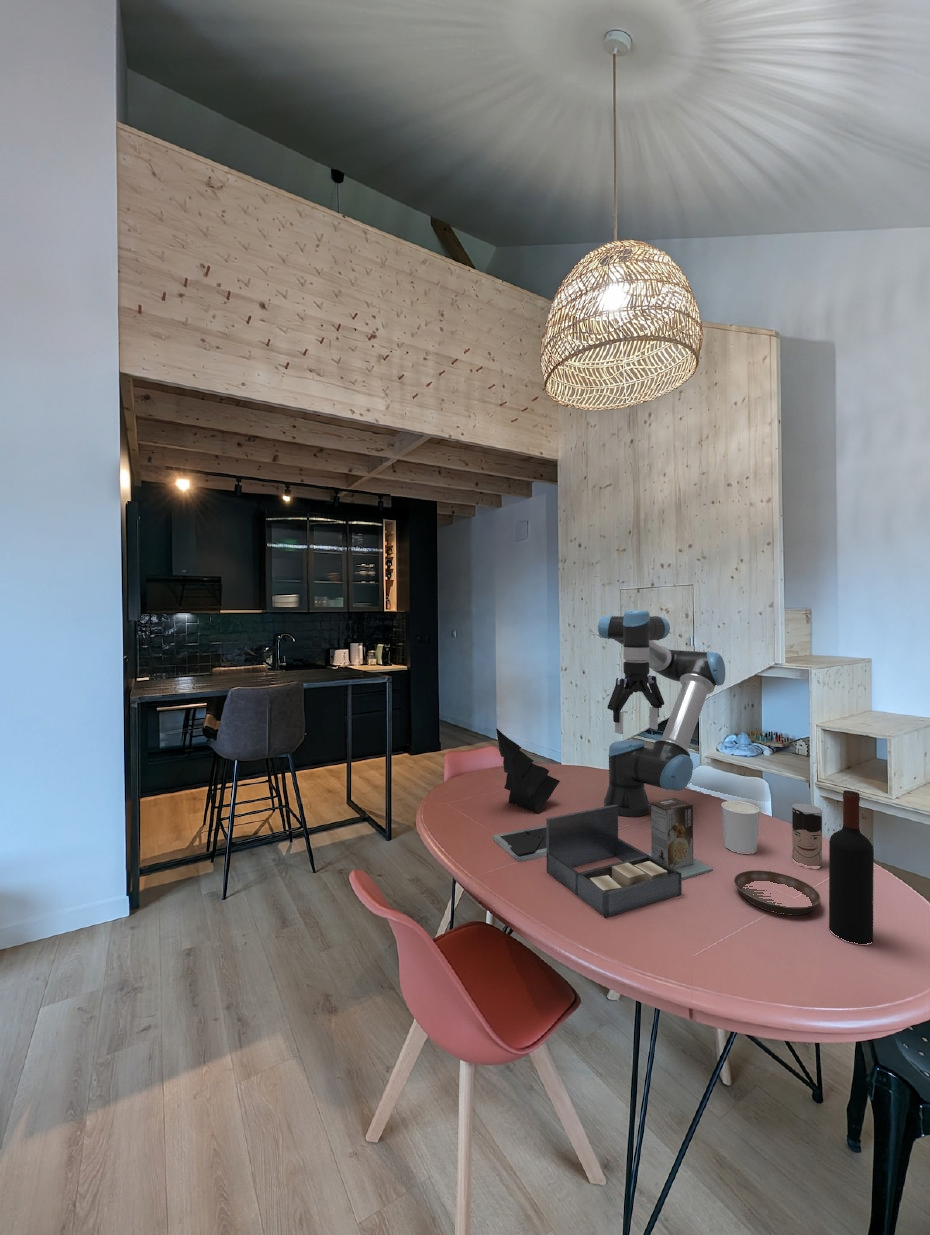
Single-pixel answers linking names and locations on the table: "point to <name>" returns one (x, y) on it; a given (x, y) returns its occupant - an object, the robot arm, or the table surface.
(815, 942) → the table surface
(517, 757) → the decorative tree
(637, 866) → the offcut
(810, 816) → the cup
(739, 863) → the table surface
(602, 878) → the offcut
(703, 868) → the pad
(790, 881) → the plant saucer
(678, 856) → the coffee box
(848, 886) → the wine bottle
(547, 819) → the open divided box
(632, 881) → the block
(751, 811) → the candle holder
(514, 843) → the picture frame
